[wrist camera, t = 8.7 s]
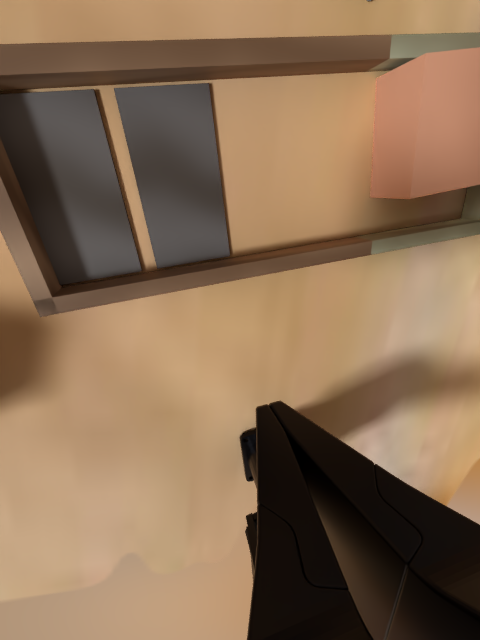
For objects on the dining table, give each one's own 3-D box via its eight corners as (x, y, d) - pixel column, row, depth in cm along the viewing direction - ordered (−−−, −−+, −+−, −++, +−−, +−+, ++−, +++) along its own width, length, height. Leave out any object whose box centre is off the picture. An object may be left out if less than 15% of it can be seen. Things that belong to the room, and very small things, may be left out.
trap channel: (477, 227, 25) (530, 233, 21) (51, 304, 18) (26, 331, 15) (522, 44, 19) (603, 13, 16) (-53, 65, 13) (-129, 20, 10)
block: (446, 181, 22) (500, 180, 19) (368, 197, 21) (410, 198, 18) (464, 68, 19) (532, 41, 16) (373, 79, 18) (425, 53, 15)
